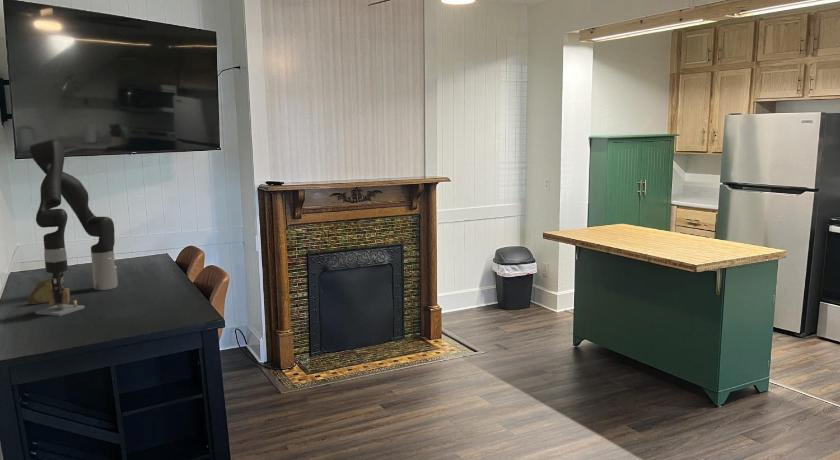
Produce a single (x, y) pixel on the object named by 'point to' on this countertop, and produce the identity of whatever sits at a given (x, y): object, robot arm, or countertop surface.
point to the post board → (60, 309)
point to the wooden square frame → (64, 296)
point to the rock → (40, 293)
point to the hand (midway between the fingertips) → (59, 300)
